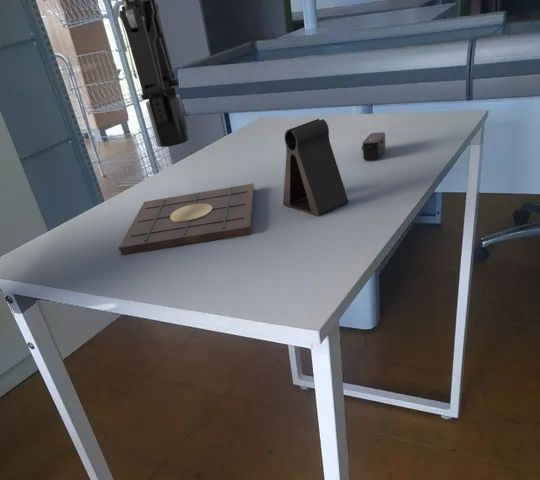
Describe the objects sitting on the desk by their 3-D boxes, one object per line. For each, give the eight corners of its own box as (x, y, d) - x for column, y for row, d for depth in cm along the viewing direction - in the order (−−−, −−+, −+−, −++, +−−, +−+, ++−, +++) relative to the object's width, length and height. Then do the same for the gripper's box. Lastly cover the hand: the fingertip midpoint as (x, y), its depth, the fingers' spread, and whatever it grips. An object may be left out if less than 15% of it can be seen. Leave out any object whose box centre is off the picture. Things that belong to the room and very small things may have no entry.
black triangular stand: (283, 205, 88) (271, 127, 81) (311, 193, 90) (302, 116, 83) (318, 216, 81) (308, 133, 75) (348, 203, 84) (341, 121, 77)
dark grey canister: (154, 149, 80) (142, 105, 77) (160, 140, 84) (149, 98, 81) (187, 143, 80) (176, 99, 76) (191, 134, 84) (181, 92, 80)
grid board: (121, 255, 82) (118, 246, 82) (146, 208, 99) (143, 200, 98) (251, 234, 80) (249, 225, 80) (254, 189, 97) (253, 182, 96)
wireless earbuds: (387, 148, 103) (386, 130, 101) (377, 161, 98) (376, 142, 96) (363, 150, 105) (362, 132, 103) (352, 162, 100) (351, 144, 98)
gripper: (138, -62, 61) (190, 151, 74) (164, -56, 75) (204, 121, 89) (74, -48, 62) (137, 161, 75) (112, -45, 76) (160, 129, 90)
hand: (173, 139), depth 82 cm, fingers closed on dark grey canister, 5 cm apart
